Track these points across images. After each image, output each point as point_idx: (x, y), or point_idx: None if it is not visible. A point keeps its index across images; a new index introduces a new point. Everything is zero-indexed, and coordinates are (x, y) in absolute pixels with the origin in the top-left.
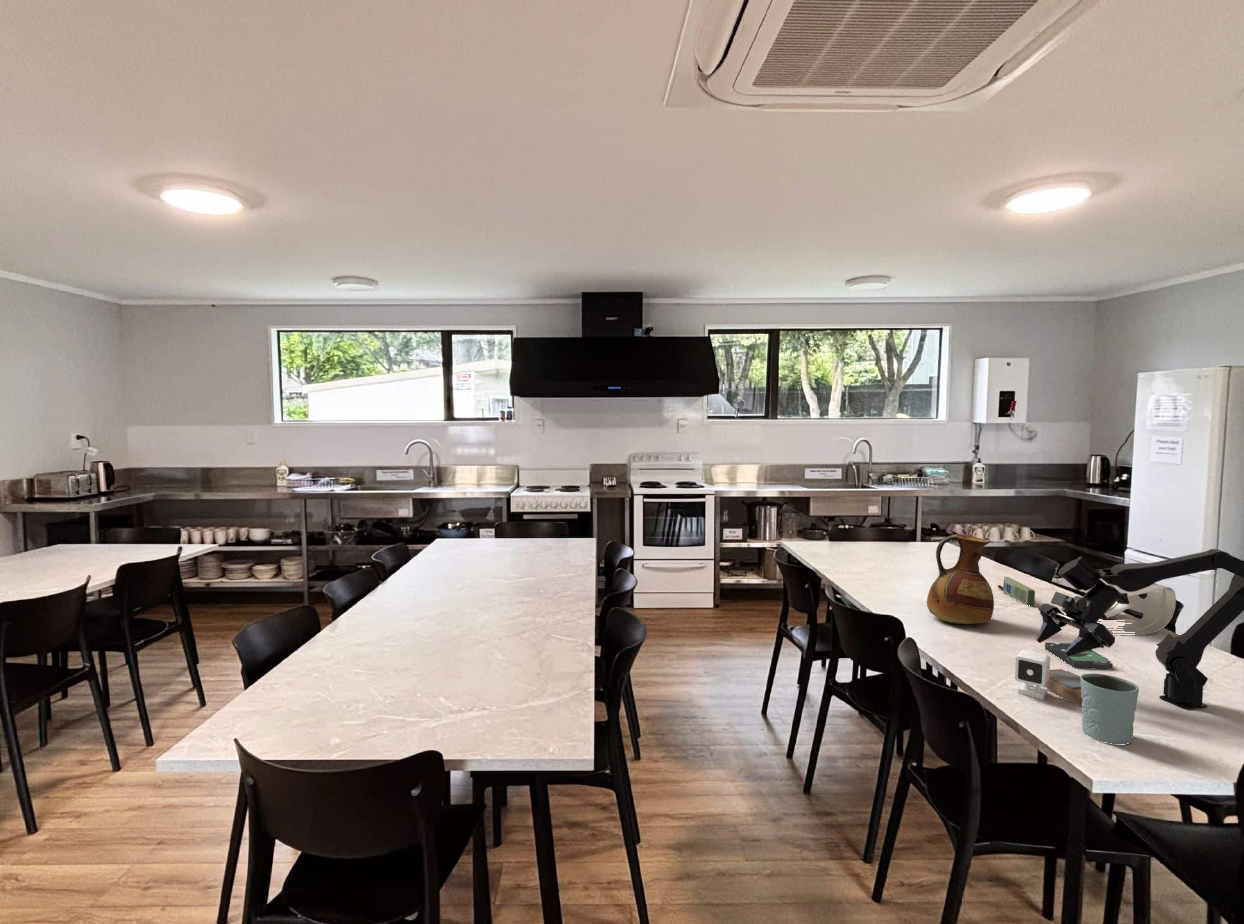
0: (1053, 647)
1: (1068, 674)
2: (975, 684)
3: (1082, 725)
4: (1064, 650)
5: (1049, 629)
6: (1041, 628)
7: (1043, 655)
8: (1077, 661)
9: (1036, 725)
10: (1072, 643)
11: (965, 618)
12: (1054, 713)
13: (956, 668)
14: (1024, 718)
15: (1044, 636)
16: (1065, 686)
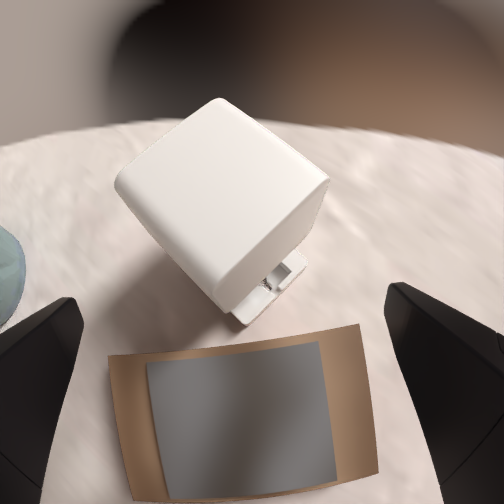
0: None
1: (297, 459)
2: (318, 131)
3: (9, 233)
4: None
5: (466, 419)
6: (490, 334)
7: (214, 241)
8: None
9: (64, 150)
10: (5, 345)
11: None
12: (97, 234)
13: (436, 152)
14: (96, 142)
15: (415, 352)
16: (181, 359)
